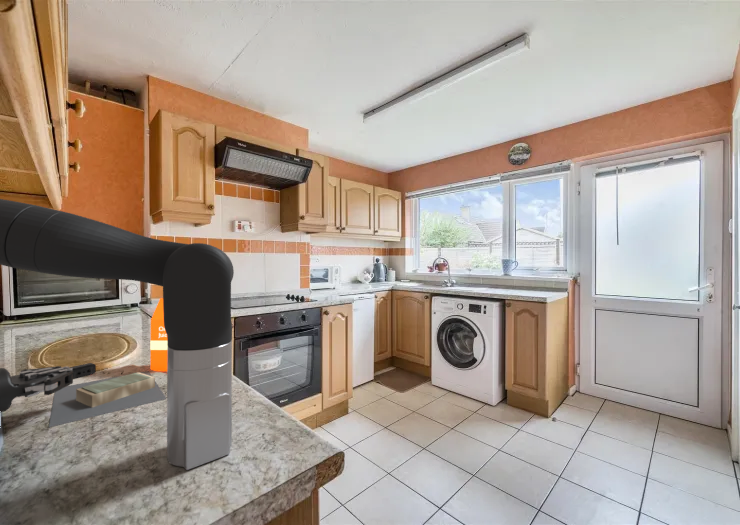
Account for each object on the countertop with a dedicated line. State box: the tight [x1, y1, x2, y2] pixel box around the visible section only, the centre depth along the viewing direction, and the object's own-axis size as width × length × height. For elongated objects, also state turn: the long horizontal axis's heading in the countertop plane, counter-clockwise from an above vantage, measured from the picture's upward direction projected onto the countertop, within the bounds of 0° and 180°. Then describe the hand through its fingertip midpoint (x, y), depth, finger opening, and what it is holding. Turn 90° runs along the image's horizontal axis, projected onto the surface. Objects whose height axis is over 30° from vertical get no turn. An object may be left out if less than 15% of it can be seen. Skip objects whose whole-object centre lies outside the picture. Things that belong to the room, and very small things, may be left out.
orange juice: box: [149, 297, 168, 372], centre depth 93 cm, size 8×9×20 cm
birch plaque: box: [76, 371, 156, 407], centre depth 72 cm, size 3×7×12 cm
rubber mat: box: [48, 370, 167, 428], centre depth 72 cm, size 24×18×1 cm
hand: (93, 368), depth 68 cm, fingers closed
